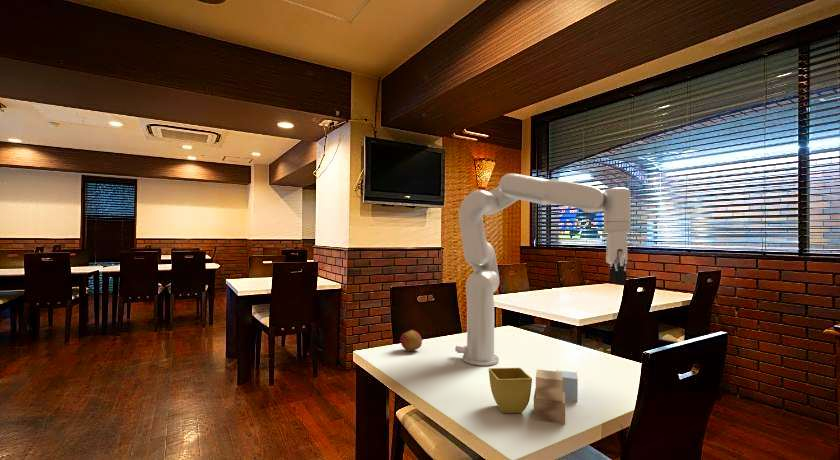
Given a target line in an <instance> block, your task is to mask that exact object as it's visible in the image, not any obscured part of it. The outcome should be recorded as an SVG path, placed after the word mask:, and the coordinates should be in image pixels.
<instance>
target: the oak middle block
mask: <svg viewBox="0 0 840 460" xmlns="http://www.w3.org/2000/svg"><path fill="white" fill-rule="evenodd" d="M535 388H536V399H544V400H551V401H558V402H563V379H562V372H556V370H555V371H554V370H545V369H536V374H535Z"/></svg>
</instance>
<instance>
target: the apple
mask: <svg viewBox="0 0 840 460" xmlns="http://www.w3.org/2000/svg"><path fill="white" fill-rule="evenodd" d="M399 340H400V344H401V346H402V348H403V349H404V350H405V351H407V352H413V351H416V350H417V349H420V347H421V346H422V344H423V339H422V336H421V334H420V333H419V332H418V331H416V330H415V329H410V330H408V331H406V332H403V333H402V334H401V336H400V338H399Z"/></svg>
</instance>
